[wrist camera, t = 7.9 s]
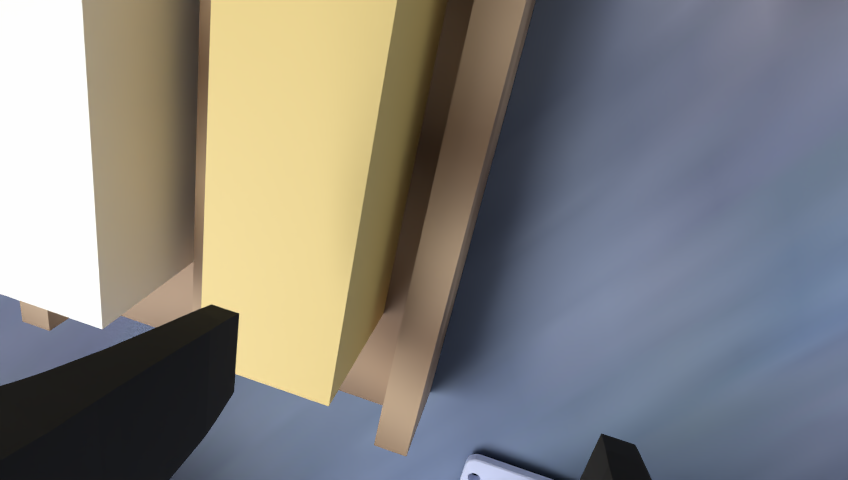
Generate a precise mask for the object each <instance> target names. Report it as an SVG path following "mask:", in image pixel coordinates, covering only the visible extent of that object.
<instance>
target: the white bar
mask: <svg viewBox="0 0 848 480" xmlns="http://www.w3.org/2000/svg"><path fill="white" fill-rule="evenodd" d="M199 14H200V0H0V294H2V295H5V296H8V297H11V298H14V299H17V300H20V301H22V302H25V303H28V304H31V305H34V306H37V307H40V308H43V309H46V310H48V311H51V312H54V313H57V314H60V315H63V316H66V317H69V318H71V319H74V320H77V321H80V322H83V323H86V324H89V325H92V326H94V327H97V328H100V329H103V328H105V327H106V326H107V325H109V324H110V323H111V322H113V321H114V320H115V319H117V318H118V317H120V316H121V315H122V314H124V313H125V312H126V311H128V310H129V309H130V308H132V307H133V306H134V305H136V304H137V303H138V302H140V301H141V300H142V299H144V298H145V297H146V296H148V295H149V294H151V293H152V292H153V291H155V290H156V289H157V288H159V287H160V286H161V285H163V284H164V283H165V282H167V281H168V280H169V279H171V278H172V277H173V276H175V275H176V274H177V273H179V272H180V271H182V270H183V269H184V268H186V267H187V266H188V265H190V264H191V263H192V262H194V222H195V181H196V139H197V97H198V55H199Z"/></svg>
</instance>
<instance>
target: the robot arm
mask: <svg viewBox="0 0 848 480" xmlns="http://www.w3.org/2000/svg"><path fill="white" fill-rule="evenodd" d="M238 326H239V313H236V312H233V311H230V310H227V309H224V308H221V307H218V306H215V305H212V304H211V305H208V306H206V307H203V308H201V309H198V310H196V311H193V312H191V313H189V314H186V315H184V316H182V317H179V318H177V319H175V320H173V321H170V322H168V323H166V324H163V325H161V326H159V327H157V328H154V329H152V330H150V331H147V332H145V333H142V334H140V335H138V336H135V337H133V338H131V339H128V340H126V341H123V342H121V343H119V344H116V345H114V346H112V347H109V348H107V349H104V350H102V351H99V352H96V353H94V354H91V355H88V356H86V357H83V358H80V359H78V360H75V361H72V362H70V363H67V364H64V365H62V366H59V367H56V368H54V369H51V370H49V371H46V372H43V373H40V374H37V375H34V376H31V377H28V378H25V379H22V380H19V381H16V382H12V383H9V384H6V385H2V386H0V480H169V479H170V478H171V477H172V476H173V474H174V473H175V472H176V471H177V470H178V468H179V467H180V466H181V465H182V464H183V462H184V461H185V460H186V459H187V458H188V456H189V455H190V454H191V453H192V452H193V450H194V449H195V448H196V447H197V446H198V444H199V443H200V442H201V441H202V440H203V438H204V437H205V436H206V434H207V433H208V431H209V430H210V429H211V427H212V426H213V424H214V423H215V421H216V420H217V418H218V417H219V415H220V413H221V412H222V410H223V409H224V407H225V405H226V404H227V402H228V401H229V399H230V398H231V396H232V394H233V393H234V384H235V369H236V355H237V340H238ZM471 473H475V474H477V475H478V476H476V475H473V474H471ZM460 480H553V479H550V478H547V477H544V476H541V475H538V474H535V473H533V472H530V471H527V470H524V469H521V468H518V467H515V466H512V465H509V464H506V463H504V462H501V461H498V460H495V459H492V458H489V457H486V456H483V455H480V454H472V455H470V456H468V458H467V460H466V463H465V466H464V469H463V472H462V475H461V478H460ZM580 480H652V479H651V477H650V475H649V473H648V471H647V468H646V466H645V464H644V462H643V460H642V458H641V455H640V453H639V451H638V449H637V447H636V446H635V445H634V444H631V443H628V442H625V441H622V440H619V439H616V438H613V437H610V436H607V435H604V434H601V436H600V438H599V440H598V442H597V444H596V446H595V448H594V451H593V453H592V455H591V457H590V459H589V461H588V463H587V466H586V468H585V470H584V472H583V474H582V476H581V478H580Z"/></svg>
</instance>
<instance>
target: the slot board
mask: <svg viewBox="0 0 848 480" xmlns="http://www.w3.org/2000/svg"><path fill="white" fill-rule="evenodd" d="M535 1H536V0H448V1H447V6H446V11H445V16H444V21H443V26H442V31H441V36H440V40H439V45H438V50H437V55H436V60H435V65H434V70H433V74H432V79H431V84H430V89H429V94H428V99H427V104H426V109H425V113H424V118H423V123H422V128H421V133H420V138H419V143H418V148H417V152H416V157H415V162H414V167H413V172H412V177H411V182H410V186H409V191H408V196H407V201H406V206H405V211H404V216H403V221H402V225H401V230H400V235H399V240H398V245H397V250H396V255H395V260H394V264H393V269H392V274H391V279H390V284H389V289H388V294H387V298H386V303H385V308H384V313H383V315H382V317H381V319H380V320H379V322H378V324H377V325H376V327H375V329H374V330H373V332H372V334H371V336H370V337H369V339H368V341H367V342H366V344H365V346H364V347H363V349H362V351H361V352H360V354H359V356H358V358H357V359H356V361H355V363H354V364H353V366H352V368H351V369H350V371H349V373H348V375H347V376H346V378H345V380H344V381H343V383H342V385H341V386H340V388H339V390H340V391H343V392H346V393H349V394H352V395H355V396H358V397H360V398H363V399H366V400H369V401H372V402H375V403H378V404H381V405H383V408H382V412H381V416H380V421H379V425H378V430H377V434H376V439H375V443H374V445H375V446H378V447H381V448H384V449H387V450H389V451H392V452H395V453H398V454H401V455H404V456H407V453H408V450H409V448H410V445H411V442H412V440H413V437H414V434H415V431H416V429H417V426H418V423H419V421H420V418H421V415H422V412H423V410H424V407H425V404H426V402H427V399H428V396H429V393H430V390H431V386H432V383H433V379H434V375H435V371H436V368H437V364H438V360H439V357H440V353H441V349H442V346H443V342H444V338H445V334H446V331H447V327H448V323H449V320H450V316H451V312H452V309H453V305H454V301H455V297H456V294H457V290H458V286H459V283H460V279H461V275H462V271H463V268H464V264H465V260H466V257H467V253H468V249H469V246H470V242H471V238H472V234H473V231H474V227H475V223H476V220H477V216H478V212H479V209H480V205H481V201H482V197H483V194H484V190H485V186H486V183H487V179H488V175H489V172H490V168H491V164H492V160H493V157H494V153H495V149H496V146H497V142H498V138H499V134H500V131H501V127H502V123H503V120H504V116H505V112H506V109H507V105H508V101H509V97H510V94H511V90H512V86H513V83H514V79H515V75H516V72H517V68H518V64H519V60H520V57H521V53H522V49H523V46H524V42H525V38H526V34H527V31H528V27H529V23H530V20H531V16H532V12H533V9H534V5H535ZM210 19H211V0H200V14H199V55H198V97H197V139H196V181H195V222H194V262H192V263H191V264H190V265H188V266H187V267H186V268H184V269H183V270H182V271H180V272H179V273H177V274H176V275H175V276H173V277H172V278H171V279H169V280H168V281H167V282H165V283H164V284H163V285H161V286H160V287H159V288H157V289H156V290H155V291H153V292H152V293H151V294H149V295H148V296H146V297H145V298H144V299H142V300H141V301H140V302H138V303H137V304H136V305H134V306H133V307H132V308H130V309H129V310H128V311H126V312H125V313H124V314H122V315H121V316H124V317H127V318H130V319H132V320H135V321H138V322H141V323H144V324H147V325H150V326H153V327H156V328H157V327H159V326H161V325H163V324H166V323H168V322H170V321H173V320H175V319H177V318H179V317H182V316H184V315H186V314H189V313H191V312H193V311H196V310H198V309H201V300H202V269H203V238H204V206H205V175H206V144H207V113H208V81H209V50H210ZM20 306H21V313H22V320H23V322H26V323H29V324H32V325H35V326H37V327H40V328H43V329H46V330H49V331H50V330H52V329H53V328H55V327H56V326H58V325H59V324H61V323H62V322H64V321H65V320H67V319H68V318H69V317H66V316H63V315H60V314H57V313H54V312H51V311H48V310H46V309H43V308H40V307H37V306H34V305H31V304H28V303H25V302H22V301H20Z"/></svg>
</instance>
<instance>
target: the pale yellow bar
mask: <svg viewBox="0 0 848 480" xmlns="http://www.w3.org/2000/svg"><path fill="white" fill-rule="evenodd" d="M447 1H448V0H211V19H210V50H209V81H208V113H207V144H206V175H205V206H204V238H203V269H202V300H201V308H203V307H206V306H208V305H211V304H212V305H215V306H218V307H221V308H224V309H227V310H230V311H233V312H236V313H239V326H238V340H237V355H236V369H235V374H237V375H240V376H243V377H246V378H249V379H252V380H254V381H257V382H260V383H263V384H266V385H269V386H272V387H275V388H278V389H280V390H283V391H286V392H289V393H292V394H295V395H298V396H301V397H304V398H306V399H309V400H312V401H315V402H318V403H321V404H324V405H327V406H329V405H330V403H331V402H332V400H333V398H334V397H335V395H336V393H337V392H338V390H339V388H340V386H341V385H342V383H343V381H344V380H345V378H346V376H347V375H348V373H349V371H350V369H351V368H352V366H353V364H354V363H355V361H356V359H357V358H358V356H359V354H360V352H361V351H362V349H363V347H364V346H365V344H366V342H367V341H368V339H369V337H370V336H371V334H372V332H373V330H374V329H375V327H376V325H377V324H378V322H379V320H380V319H381V317H382V315H383V313H384V308H385V303H386V298H387V294H388V289H389V284H390V279H391V274H392V269H393V264H394V260H395V255H396V250H397V245H398V240H399V235H400V230H401V225H402V221H403V216H404V211H405V206H406V201H407V196H408V191H409V186H410V182H411V177H412V172H413V167H414V162H415V157H416V152H417V148H418V143H419V138H420V133H421V128H422V123H423V118H424V113H425V109H426V104H427V99H428V94H429V89H430V84H431V79H432V74H433V70H434V65H435V60H436V55H437V50H438V45H439V40H440V36H441V31H442V26H443V21H444V16H445V11H446V6H447Z"/></svg>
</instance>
